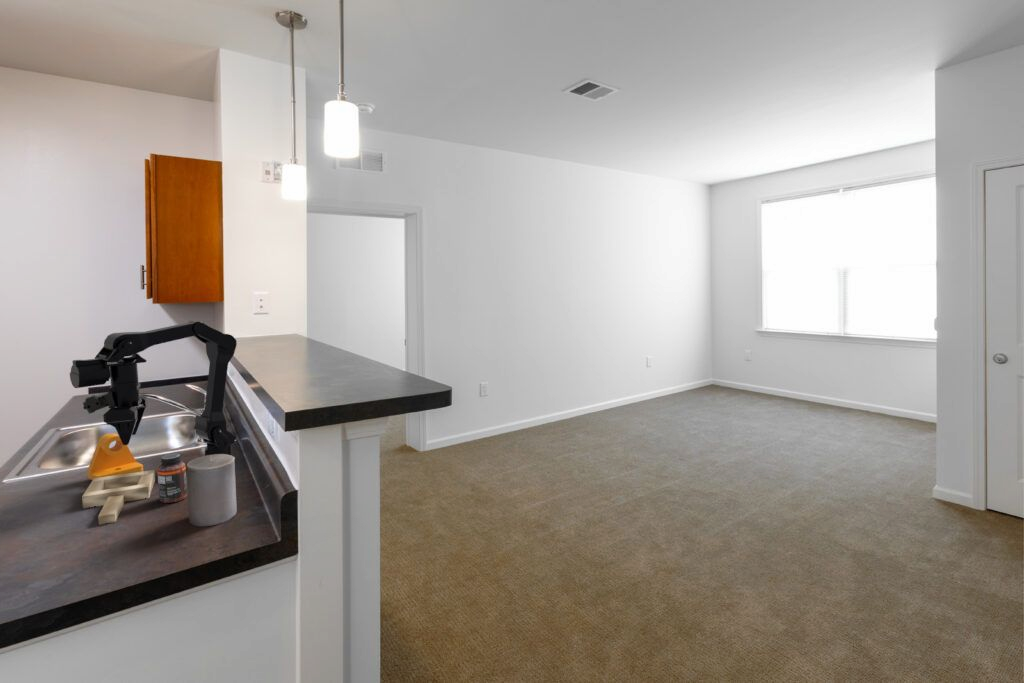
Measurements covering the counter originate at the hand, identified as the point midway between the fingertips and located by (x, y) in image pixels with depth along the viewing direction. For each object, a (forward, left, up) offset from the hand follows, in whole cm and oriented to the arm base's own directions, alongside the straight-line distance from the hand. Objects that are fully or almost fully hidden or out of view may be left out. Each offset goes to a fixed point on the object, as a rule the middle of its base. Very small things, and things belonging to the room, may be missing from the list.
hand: (129, 439), depth 132 cm
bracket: (+5, -11, -14) cm, 18 cm away
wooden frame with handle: (+2, +9, -13) cm, 16 cm away
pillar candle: (-19, +29, -13) cm, 37 cm away
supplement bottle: (-10, +13, -13) cm, 21 cm away
